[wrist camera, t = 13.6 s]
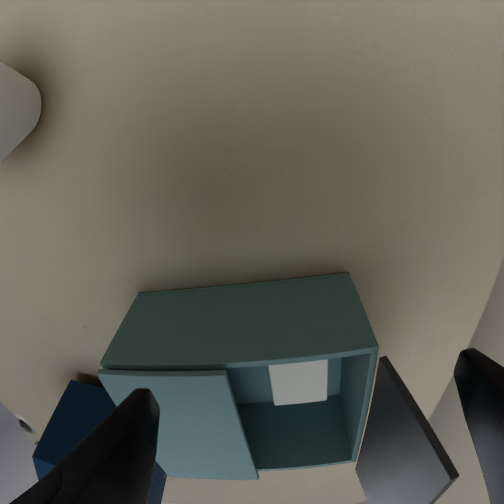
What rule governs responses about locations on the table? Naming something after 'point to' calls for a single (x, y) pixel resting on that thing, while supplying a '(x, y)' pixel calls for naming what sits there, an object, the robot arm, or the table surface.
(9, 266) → the table surface
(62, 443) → the radio
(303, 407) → the teal storage bin
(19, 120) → the mug
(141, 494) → the robot arm
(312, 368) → the gray rectangular box
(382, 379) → the hatch
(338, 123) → the table surface
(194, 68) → the table surface
